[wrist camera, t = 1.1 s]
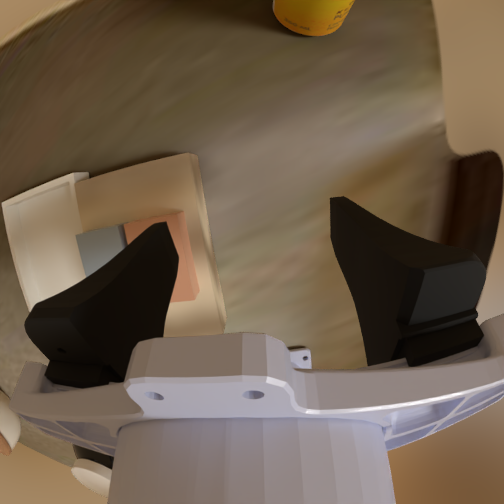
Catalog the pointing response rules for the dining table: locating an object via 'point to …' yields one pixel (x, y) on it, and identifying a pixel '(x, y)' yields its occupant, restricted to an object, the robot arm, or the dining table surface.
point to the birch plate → (154, 204)
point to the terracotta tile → (176, 222)
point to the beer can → (312, 15)
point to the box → (46, 237)
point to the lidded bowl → (8, 426)
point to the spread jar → (93, 469)
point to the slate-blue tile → (100, 246)
